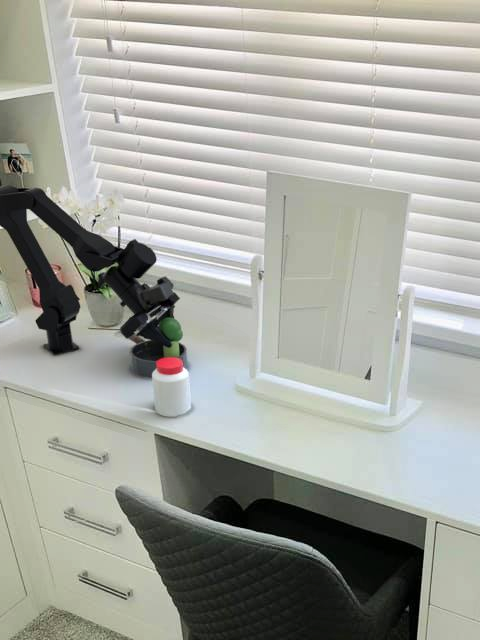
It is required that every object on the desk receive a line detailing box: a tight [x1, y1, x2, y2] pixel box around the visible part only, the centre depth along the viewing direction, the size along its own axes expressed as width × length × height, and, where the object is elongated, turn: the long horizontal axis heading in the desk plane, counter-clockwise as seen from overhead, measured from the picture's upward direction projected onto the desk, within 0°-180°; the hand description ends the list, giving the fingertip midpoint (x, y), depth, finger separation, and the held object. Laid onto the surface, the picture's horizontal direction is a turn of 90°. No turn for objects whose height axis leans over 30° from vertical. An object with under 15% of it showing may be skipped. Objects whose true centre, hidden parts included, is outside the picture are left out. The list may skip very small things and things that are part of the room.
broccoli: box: [158, 317, 184, 358], centre depth 183 cm, size 6×5×13 cm
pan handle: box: [127, 333, 148, 348], centre depth 191 cm, size 8×2×2 cm, turn 43°
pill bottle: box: [151, 357, 192, 418], centre depth 168 cm, size 8×8×11 cm
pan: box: [129, 339, 189, 379], centre depth 186 cm, size 13×13×4 cm
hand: (176, 342), depth 183 cm, fingers closed on broccoli, 4 cm apart
